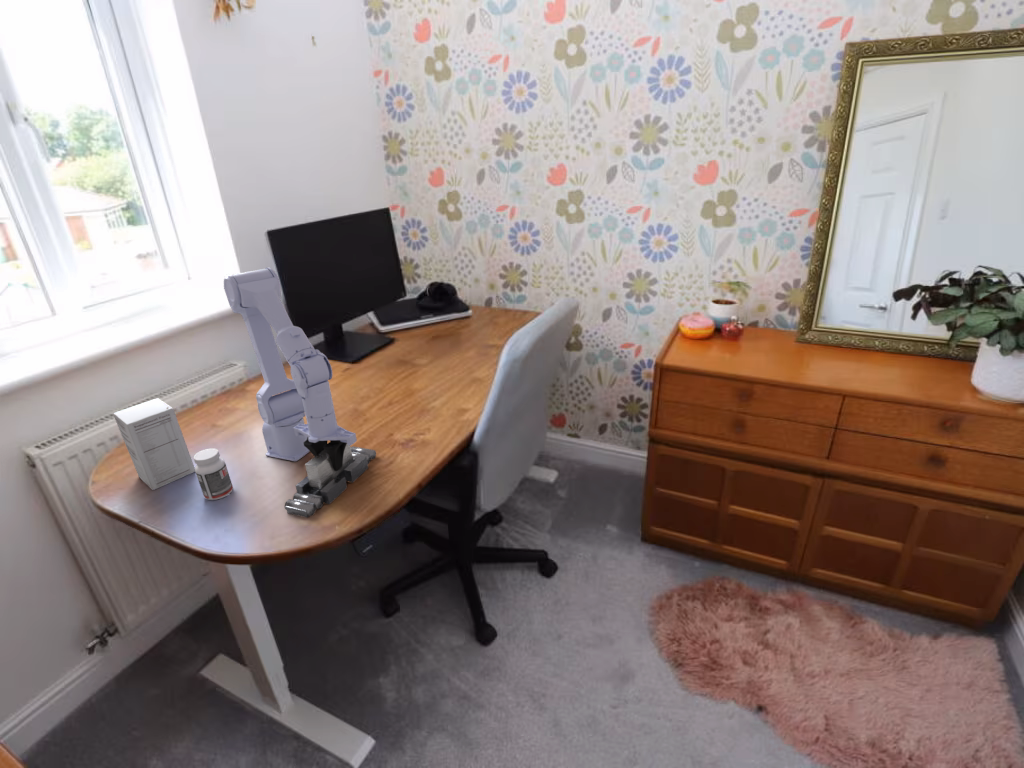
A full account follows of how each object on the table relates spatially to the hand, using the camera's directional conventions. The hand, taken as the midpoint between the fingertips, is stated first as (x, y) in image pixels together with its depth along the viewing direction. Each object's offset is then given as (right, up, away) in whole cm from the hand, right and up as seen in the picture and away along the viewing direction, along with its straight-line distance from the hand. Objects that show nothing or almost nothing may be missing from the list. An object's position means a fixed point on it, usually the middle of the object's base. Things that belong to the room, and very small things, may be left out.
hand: (331, 467), depth 115 cm
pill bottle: (-24, -6, 0) cm, 25 cm away
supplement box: (-40, -3, +7) cm, 41 cm away
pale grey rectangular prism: (0, -1, +1) cm, 2 cm away
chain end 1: (-2, -6, -4) cm, 8 cm away
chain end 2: (+2, -1, +7) cm, 8 cm away
